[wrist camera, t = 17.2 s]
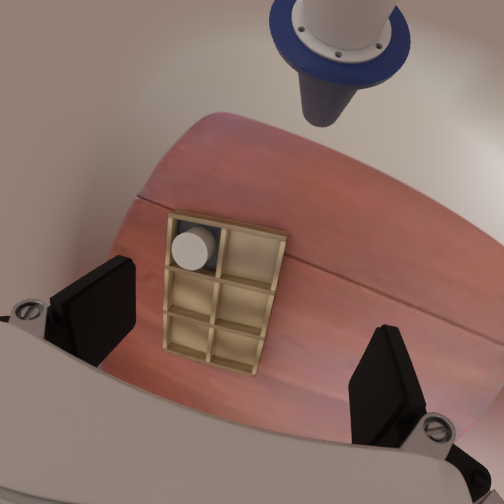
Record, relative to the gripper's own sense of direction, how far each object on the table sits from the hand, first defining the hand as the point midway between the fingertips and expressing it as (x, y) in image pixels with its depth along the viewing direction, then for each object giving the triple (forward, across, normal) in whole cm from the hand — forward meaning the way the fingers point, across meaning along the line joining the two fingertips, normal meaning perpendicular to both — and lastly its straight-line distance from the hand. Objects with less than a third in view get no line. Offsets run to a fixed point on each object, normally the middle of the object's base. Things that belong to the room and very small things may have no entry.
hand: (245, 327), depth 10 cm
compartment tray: (+23, +6, +13) cm, 27 cm away
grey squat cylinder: (+23, +10, +7) cm, 26 cm away
